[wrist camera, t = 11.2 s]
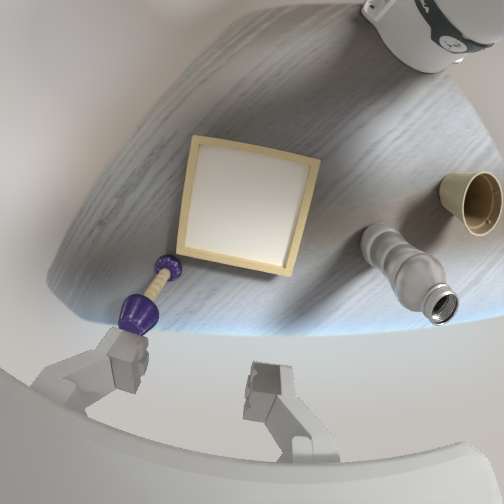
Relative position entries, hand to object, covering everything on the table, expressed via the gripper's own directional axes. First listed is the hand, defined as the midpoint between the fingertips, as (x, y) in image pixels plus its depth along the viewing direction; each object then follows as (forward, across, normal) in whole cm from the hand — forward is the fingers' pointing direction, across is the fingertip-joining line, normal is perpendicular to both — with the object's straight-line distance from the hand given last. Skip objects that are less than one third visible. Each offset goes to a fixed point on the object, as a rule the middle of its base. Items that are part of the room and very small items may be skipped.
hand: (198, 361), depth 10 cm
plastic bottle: (+31, -20, +1) cm, 37 cm away
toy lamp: (+31, +10, +12) cm, 34 cm away
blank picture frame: (+30, 0, 0) cm, 31 cm away
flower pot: (+31, -32, -10) cm, 45 cm away
